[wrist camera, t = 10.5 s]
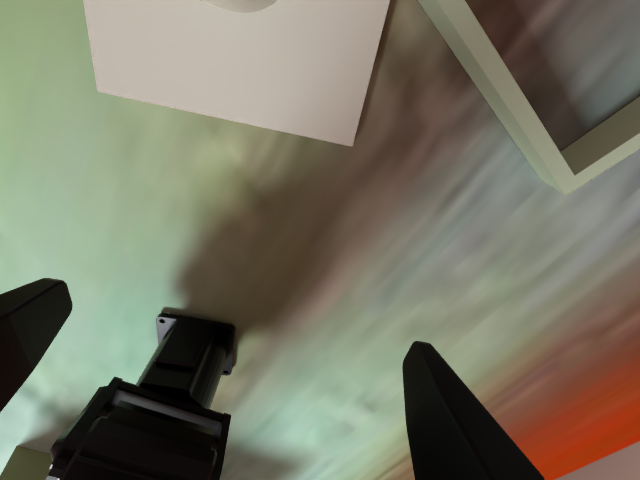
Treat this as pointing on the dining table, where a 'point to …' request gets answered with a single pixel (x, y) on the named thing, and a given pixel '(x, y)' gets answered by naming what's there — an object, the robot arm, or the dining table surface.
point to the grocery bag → (27, 465)
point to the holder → (519, 117)
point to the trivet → (242, 60)
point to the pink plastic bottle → (242, 5)
